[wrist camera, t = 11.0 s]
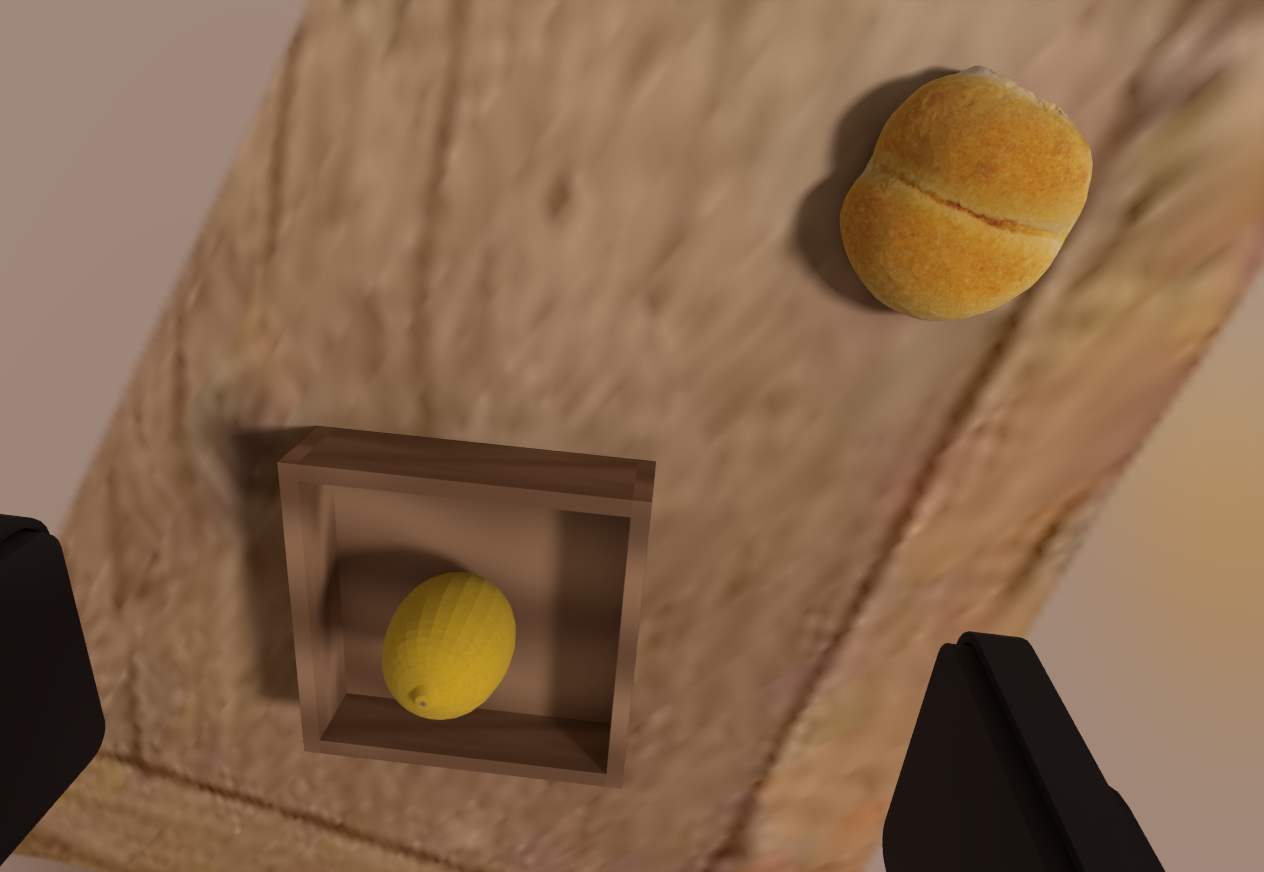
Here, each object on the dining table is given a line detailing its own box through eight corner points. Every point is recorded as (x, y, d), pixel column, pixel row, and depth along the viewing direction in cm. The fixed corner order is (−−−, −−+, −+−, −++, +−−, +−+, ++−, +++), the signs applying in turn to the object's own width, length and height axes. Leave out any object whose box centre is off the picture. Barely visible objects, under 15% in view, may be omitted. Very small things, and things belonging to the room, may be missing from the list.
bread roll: (805, 264, 34) (818, 284, 30) (922, 41, 30) (953, 34, 27) (981, 346, 34) (1015, 376, 31) (1114, 138, 31) (1171, 144, 27)
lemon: (403, 609, 41) (336, 723, 33) (442, 522, 39) (380, 624, 31) (504, 654, 41) (461, 777, 34) (548, 572, 39) (513, 682, 32)
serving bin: (317, 426, 38) (277, 462, 34) (655, 461, 37) (651, 502, 34) (336, 695, 44) (304, 751, 40) (627, 729, 43) (621, 788, 40)
